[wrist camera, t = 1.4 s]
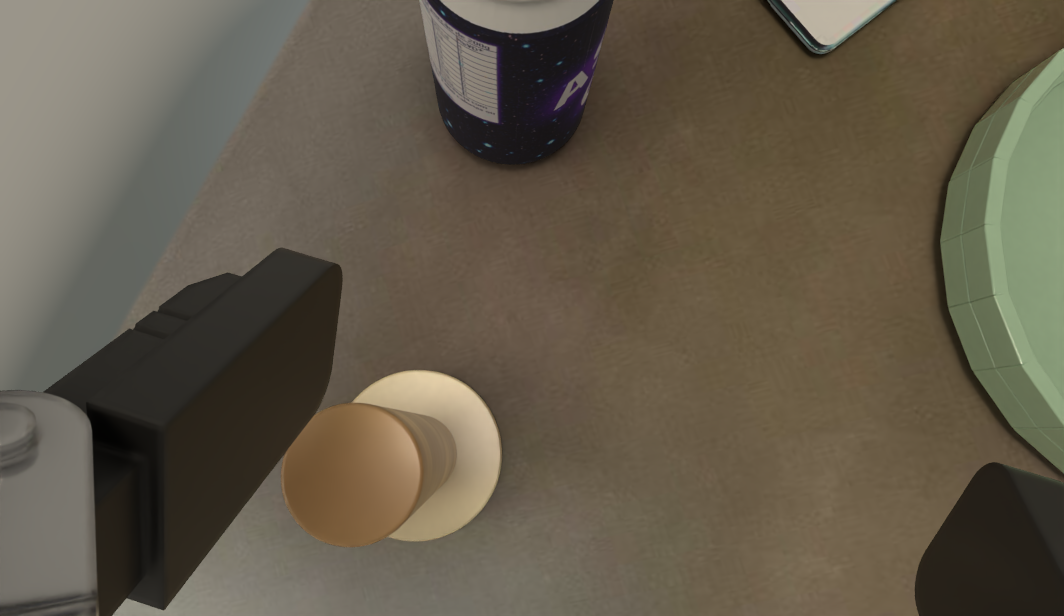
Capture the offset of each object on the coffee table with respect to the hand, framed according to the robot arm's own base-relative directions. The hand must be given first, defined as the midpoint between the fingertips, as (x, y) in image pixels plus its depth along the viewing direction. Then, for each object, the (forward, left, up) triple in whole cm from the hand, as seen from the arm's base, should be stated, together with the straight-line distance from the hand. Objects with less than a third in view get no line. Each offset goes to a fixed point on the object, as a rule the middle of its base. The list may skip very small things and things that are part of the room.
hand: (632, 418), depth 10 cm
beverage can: (-12, +3, -20) cm, 24 cm away
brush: (0, -4, -20) cm, 21 cm away
